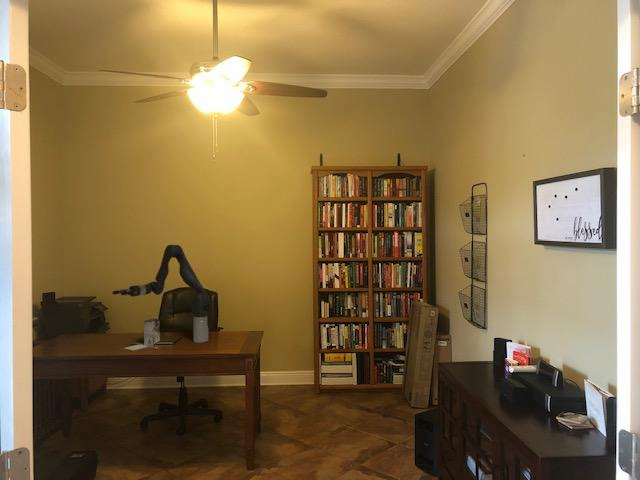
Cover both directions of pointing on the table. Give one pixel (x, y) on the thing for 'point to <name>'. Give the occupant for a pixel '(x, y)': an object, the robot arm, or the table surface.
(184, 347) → the table surface
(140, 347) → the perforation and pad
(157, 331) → the coffee box
